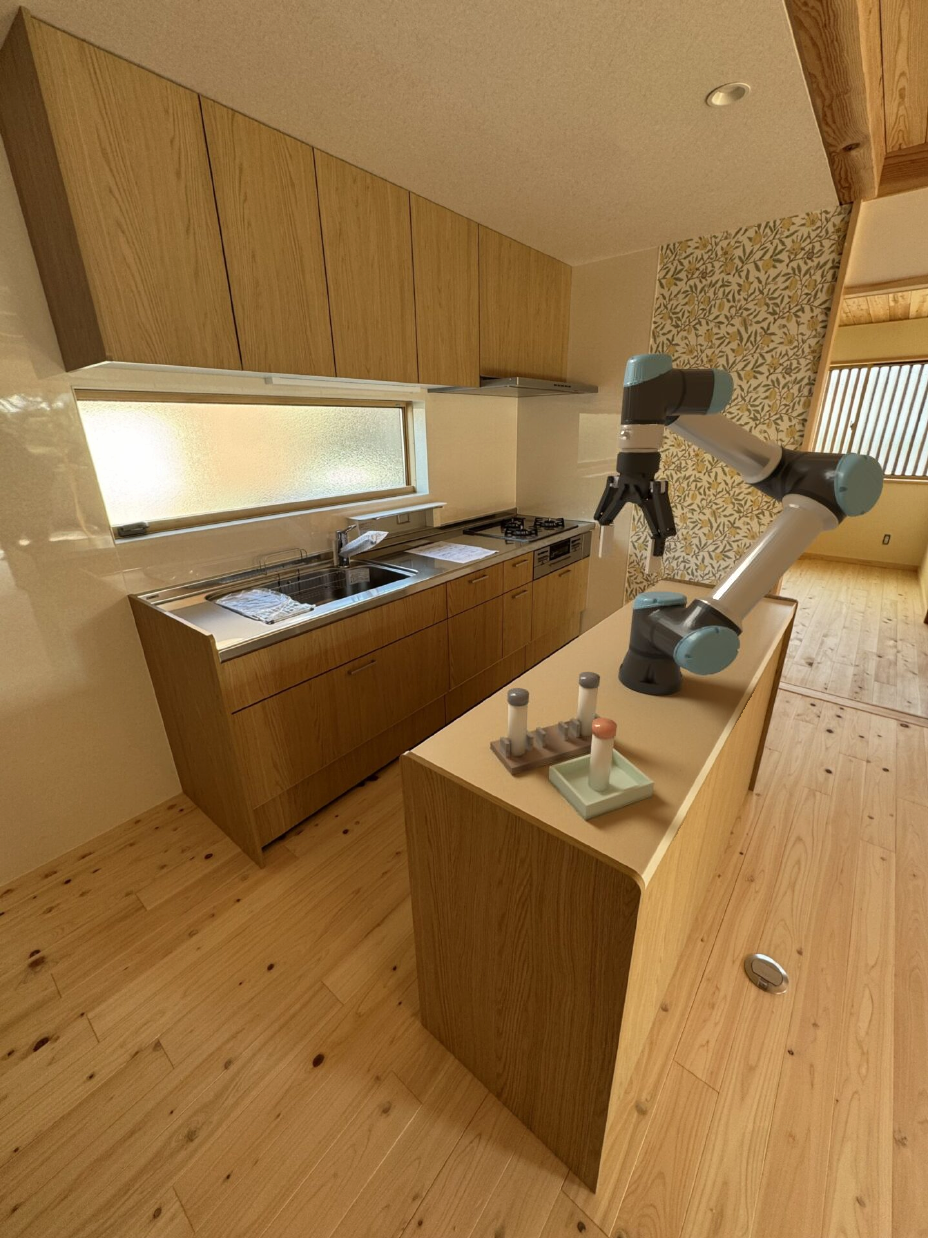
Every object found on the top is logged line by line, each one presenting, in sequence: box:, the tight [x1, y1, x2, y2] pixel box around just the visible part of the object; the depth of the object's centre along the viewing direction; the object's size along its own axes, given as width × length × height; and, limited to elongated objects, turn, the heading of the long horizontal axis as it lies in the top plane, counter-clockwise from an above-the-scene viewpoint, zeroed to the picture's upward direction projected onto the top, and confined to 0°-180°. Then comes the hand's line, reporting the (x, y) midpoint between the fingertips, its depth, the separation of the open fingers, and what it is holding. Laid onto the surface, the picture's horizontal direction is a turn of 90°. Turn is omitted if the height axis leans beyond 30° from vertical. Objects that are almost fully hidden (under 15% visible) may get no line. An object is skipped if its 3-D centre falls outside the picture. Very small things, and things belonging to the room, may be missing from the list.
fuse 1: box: [506, 687, 530, 756], centre depth 94 cm, size 4×4×13 cm
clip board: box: [489, 713, 602, 776], centre depth 99 cm, size 23×9×4 cm, turn 113°
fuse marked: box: [588, 717, 618, 792], centre depth 86 cm, size 4×4×13 cm
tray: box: [548, 747, 655, 821], centre depth 88 cm, size 14×11×3 cm
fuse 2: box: [576, 671, 601, 736], centre depth 100 cm, size 4×4×13 cm
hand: (627, 564), depth 98 cm, fingers open, 13 cm apart
